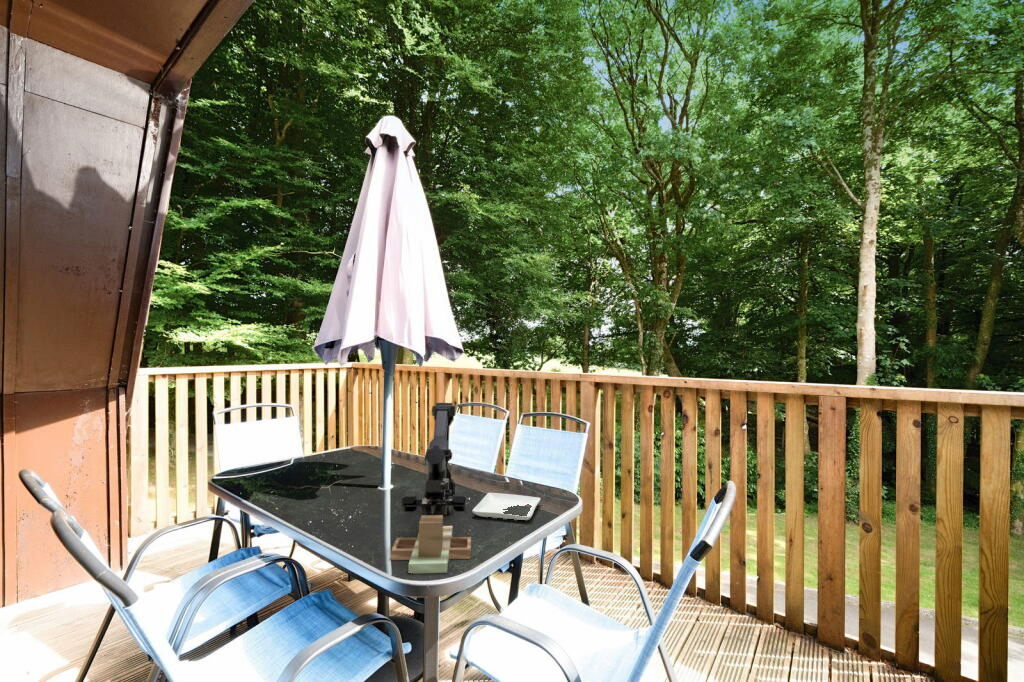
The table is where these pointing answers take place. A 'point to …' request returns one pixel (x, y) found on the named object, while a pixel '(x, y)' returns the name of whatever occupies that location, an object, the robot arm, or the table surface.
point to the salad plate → (504, 505)
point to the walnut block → (430, 535)
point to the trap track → (434, 564)
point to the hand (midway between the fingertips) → (432, 531)
